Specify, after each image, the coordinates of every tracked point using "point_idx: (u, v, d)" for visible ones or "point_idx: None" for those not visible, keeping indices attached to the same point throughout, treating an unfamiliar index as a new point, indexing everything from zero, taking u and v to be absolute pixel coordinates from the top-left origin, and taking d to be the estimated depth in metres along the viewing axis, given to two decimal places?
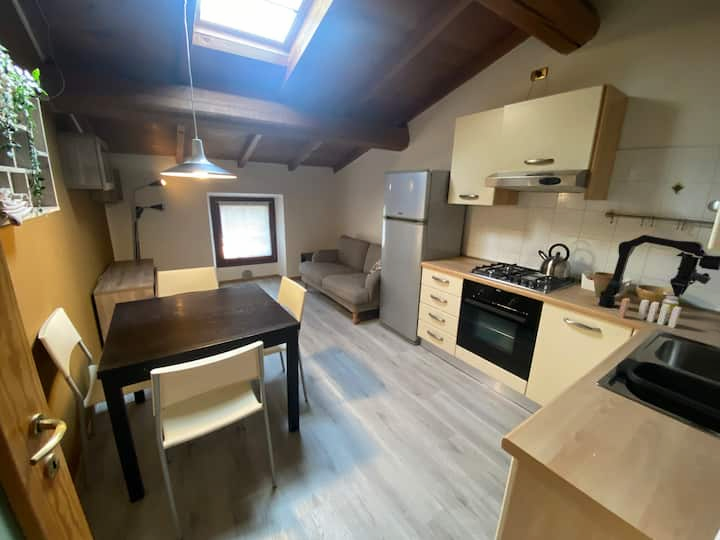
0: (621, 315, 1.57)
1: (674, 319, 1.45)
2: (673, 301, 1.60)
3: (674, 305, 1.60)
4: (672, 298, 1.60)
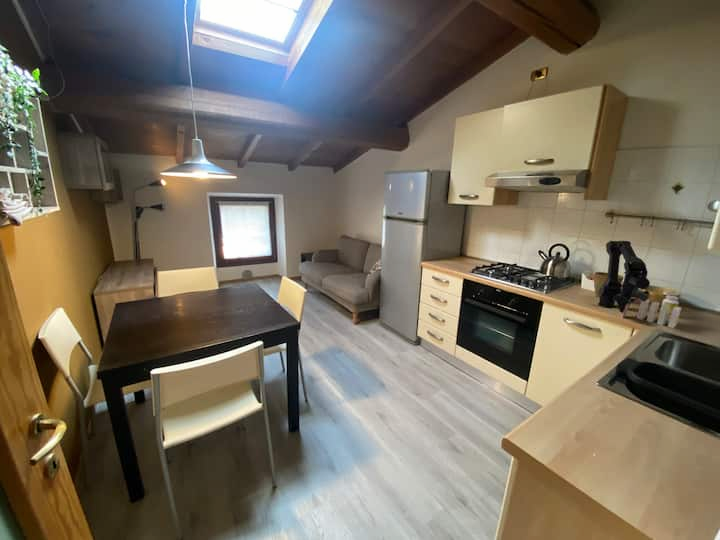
0: (621, 315, 1.57)
1: (674, 319, 1.45)
2: (673, 301, 1.60)
3: (674, 305, 1.60)
4: (672, 298, 1.60)
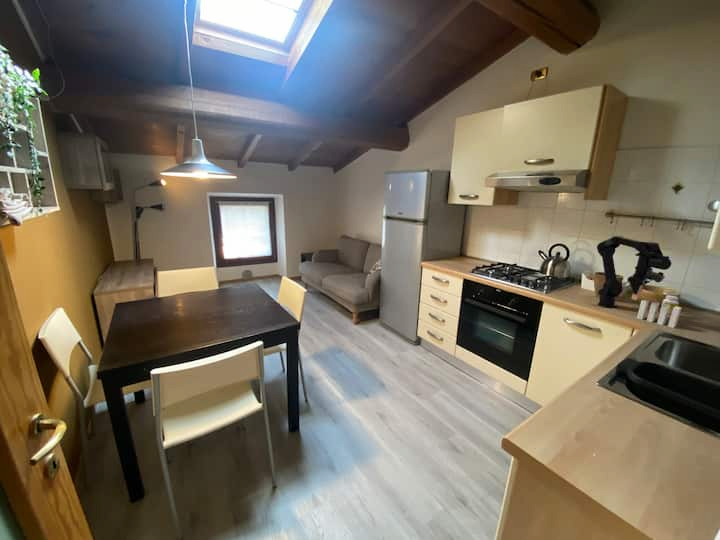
0: (635, 297, 1.57)
1: (674, 319, 1.45)
2: (673, 301, 1.60)
3: (674, 305, 1.60)
4: (672, 298, 1.60)
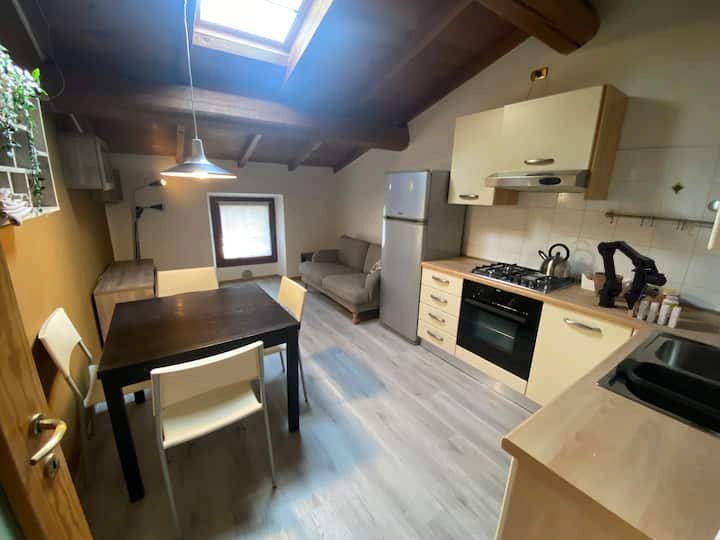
0: (630, 314, 1.59)
1: (674, 319, 1.45)
2: (673, 301, 1.60)
3: (674, 305, 1.60)
4: (672, 298, 1.60)
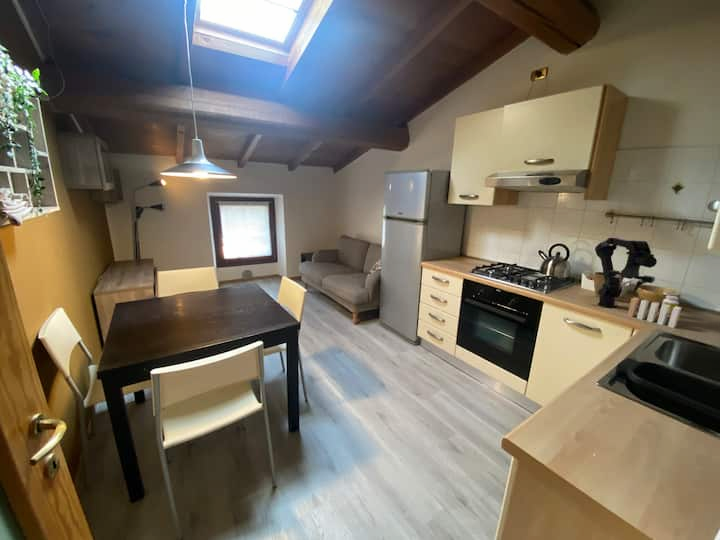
0: (630, 314, 1.59)
1: (674, 319, 1.45)
2: (673, 301, 1.60)
3: (674, 305, 1.60)
4: (672, 298, 1.60)
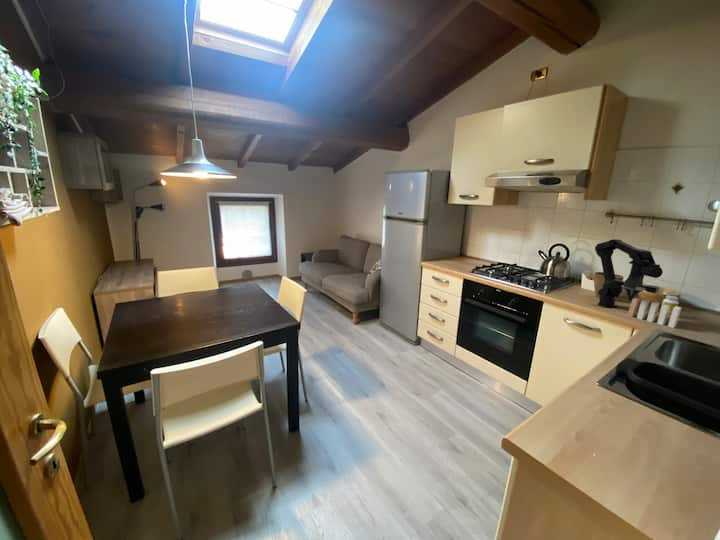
0: (630, 314, 1.59)
1: (674, 319, 1.45)
2: (673, 301, 1.60)
3: (674, 305, 1.60)
4: (672, 298, 1.60)
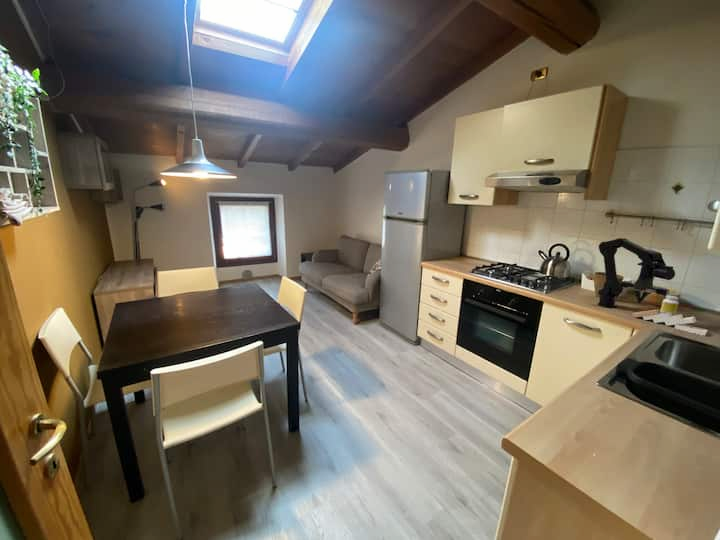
0: (636, 315, 1.57)
1: (687, 330, 1.42)
2: (673, 301, 1.60)
3: (674, 305, 1.60)
4: (672, 298, 1.60)
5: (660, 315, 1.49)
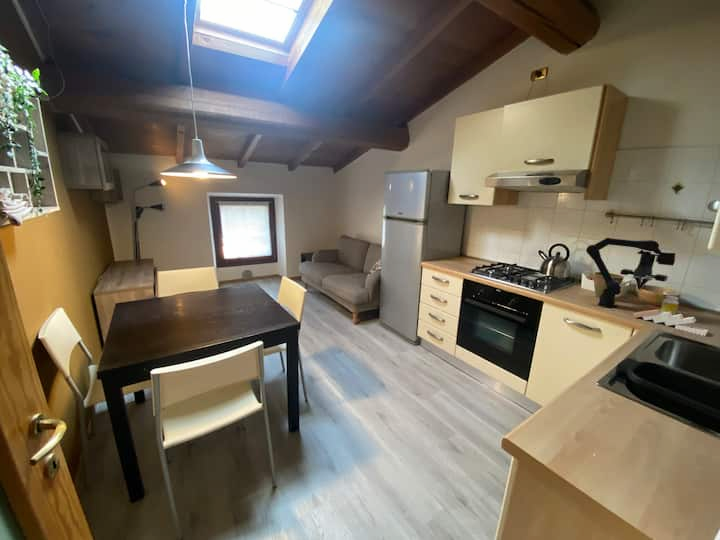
0: (636, 316, 1.57)
1: (687, 330, 1.42)
2: (673, 301, 1.60)
3: (674, 305, 1.60)
4: (672, 298, 1.60)
5: (660, 315, 1.49)
